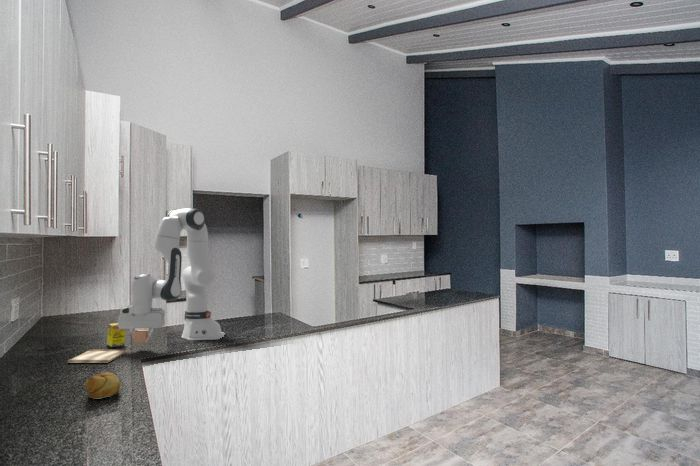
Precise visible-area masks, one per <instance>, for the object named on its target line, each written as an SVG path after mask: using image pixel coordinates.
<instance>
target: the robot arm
mask: <svg viewBox="0 0 700 466" xmlns="http://www.w3.org/2000/svg"><path fill="white" fill-rule="evenodd" d="M183 230H186V233H187V234H186V252H187V255H186V256H187V258H188V260H189V265H190V266H187V267H186V268H184V269H183V270H182V262H183V259H182V257H183V255H182V252H181V250H180V239H181V232H182V231H183ZM154 248H155V250H156V252H157V253H158V254H159V255H161V256H162V257H164V258H165V259H166V261H167V262H168V263H167V264H168V266H167V278H166V279H159V278H157V277H153V276H152V274H150V273H142V274H141V273H140V274H138V275H135V276H134V277H133V278H132V282H131V296H132V297H131V302H130V303H131V305H127V306H125V307H123V308H120V309H119V315H118V317H117V318H118V319H117V323H118V327H119V329H125V330H126V329H129V332H130V334H131V338H132V339H134V332H135V331H134V330H135V329H148V330H149V333H147V334H146V337H147V338H148V337H149V338H151V337H152V333H153V331H154V329H162V328H164V327H165V325H166V323H165V322H166V320H165V315H166V313H165V310H164V309H163V308H162V307H158V308H157V307H156V308H155V307H153V300H161V301H166V302H170V303H171V302H174V301H176V300H178V298H179V297H180V296H181V294H182V290H183V289H182V281H181V280H182V279H183V281H184V283H183V284H184V289H185V296H186V297H185V298H186V299H185V301H186V302H185V311H184V318H183V319H184V325H183V329H182V330H183V331H182V334H181V338H182V339H185V340H187V341H212V340H220V338H221V339H222V337H223V338H224V337H225V336H224V335H226V334H225V332H223V331H222V329H221V325H220V323H219V322H217V321H216V320H215V319H213V318H212V317H211V316H212V311H210V310H208V301H209V300H208V298H209V297H208V294H207V291H206V287H208V286H210V285H212V284H213V283H214V281H215V277H216V276H215V273H214V270H213V268H212V264H211V261H210V254H209V231H208V227H207V225H206V219H205V214H204V213H203V211H202V210H201V209H198V208H196V207H195V208H193V207H192V208H189V207H186V208H179V209H178V208H177V209H171V210H169V212H168V213H167V214H166V216H165V217H163V218H162V219H161V220H160V223H159V225H158V229H157V231H156V235H155V240H154ZM181 276H182V277H181ZM181 278H182V279H181Z"/></svg>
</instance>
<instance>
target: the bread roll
mask: <svg viewBox="0 0 700 466" xmlns="http://www.w3.org/2000/svg"><path fill="white" fill-rule="evenodd" d="M119 379H120V378H119V377H118V376H117V375H116V374H115V373H112V372H110V371H109V372H107V371H106V372H101V373H98V374H96V375H92V376H90V377H88V378H87V380H86V381H85V388H86V390H87V396H88V397H89V399H91V398H101V397H105V396H110V395H113V394H115V395H116V394H118V393H119V391H120V388H121V382H120V380H119Z"/></svg>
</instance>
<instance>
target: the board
mask: <svg viewBox="0 0 700 466" xmlns="http://www.w3.org/2000/svg"><path fill="white" fill-rule="evenodd" d="M126 351H127V350H126V349H88V350H87V351H85V352H83V353H81V354H78V355H77V356H75V357H72V358H71V359H70V358H69V359H67V364H68V363H108V362H110V361H112V360H113V361H115V360H116V359H115V358H117V357H118V358H120V357H122V356H123V355H125V354H126V353H127V352H126ZM124 353H125V354H124ZM122 354H123V355H122ZM121 355H122V356H121ZM119 356H120V357H119ZM118 358H117V359H118ZM114 359H115V360H114ZM113 361H112V362H113ZM110 363H111V362H110ZM108 364H109V363H108Z"/></svg>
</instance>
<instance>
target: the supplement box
mask: <svg viewBox="0 0 700 466" xmlns="http://www.w3.org/2000/svg"><path fill="white" fill-rule="evenodd" d="M106 337H107V340H106V347H108V346H109V347H108V348H110V347H111V348H110V349H114V348H113V347H116V348H121V347H125V346H126V345H125V344H126V342H125V341H126V329H119V327H118V322H114V323H108V324H107V336H106Z"/></svg>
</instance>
